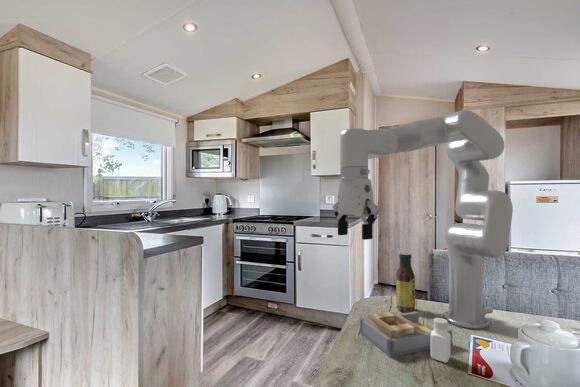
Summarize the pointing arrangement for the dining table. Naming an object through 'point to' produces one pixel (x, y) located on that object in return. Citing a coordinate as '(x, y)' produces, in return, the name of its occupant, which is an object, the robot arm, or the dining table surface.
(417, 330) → the shaker cabinet door
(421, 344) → the tray
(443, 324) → the salt shaker
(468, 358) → the dining table surface
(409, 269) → the sauce bottle
